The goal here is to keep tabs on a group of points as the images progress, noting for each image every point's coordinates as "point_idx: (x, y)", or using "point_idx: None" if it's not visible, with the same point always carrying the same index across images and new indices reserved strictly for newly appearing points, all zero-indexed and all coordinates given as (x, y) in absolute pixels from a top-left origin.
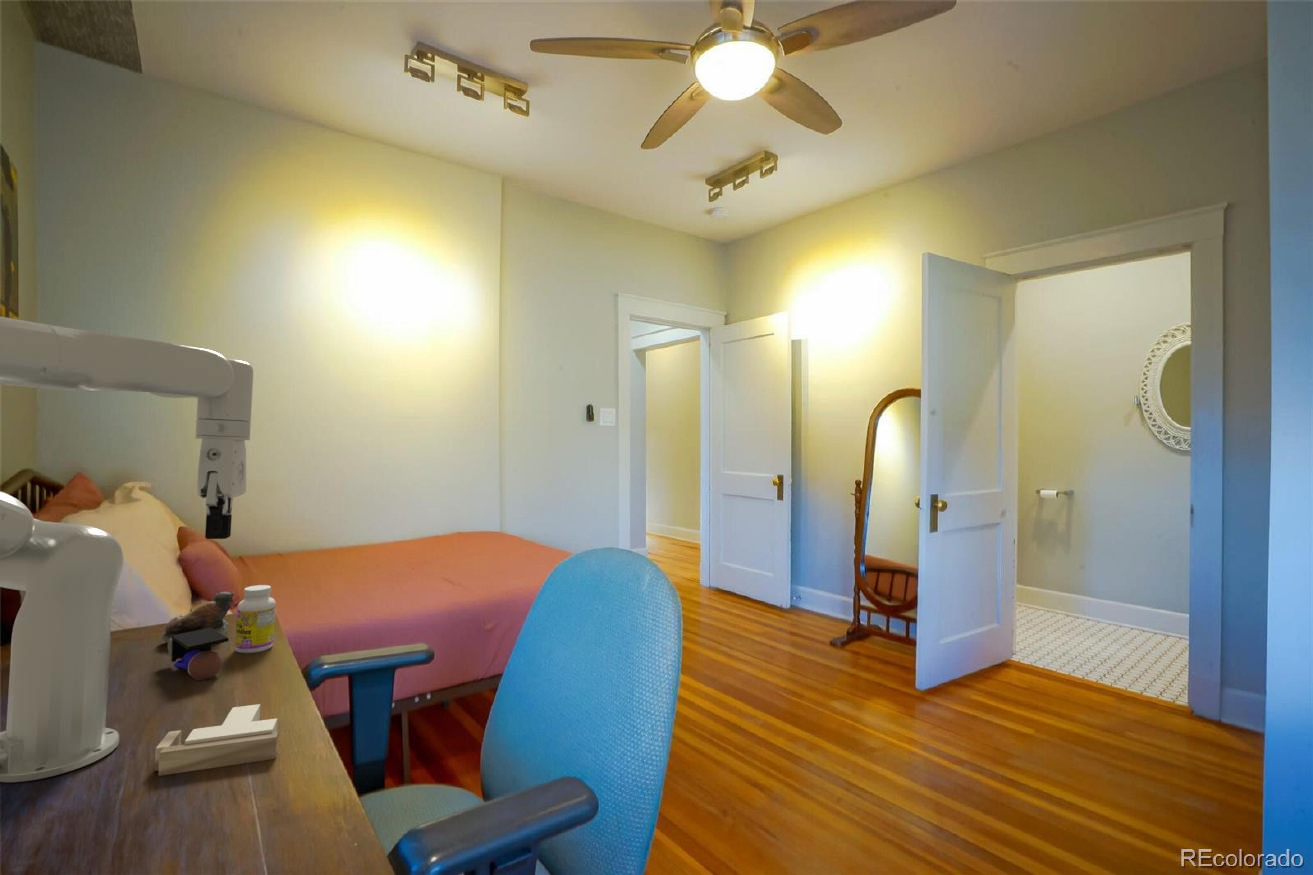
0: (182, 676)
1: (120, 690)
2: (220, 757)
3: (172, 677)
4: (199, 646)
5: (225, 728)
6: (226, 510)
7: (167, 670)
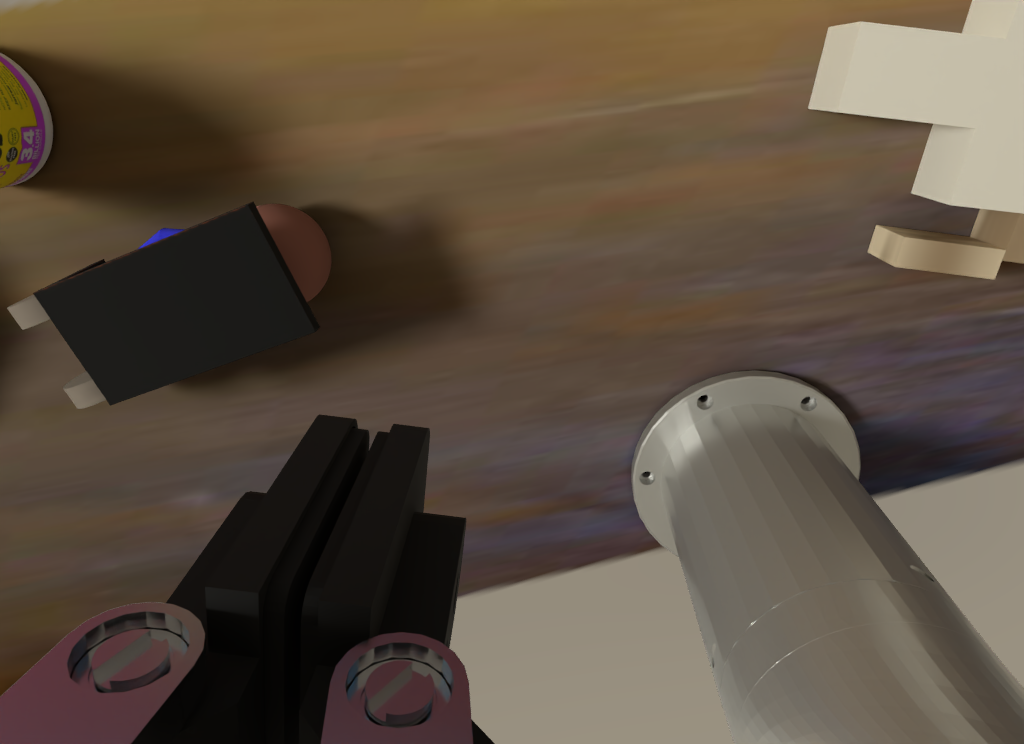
0: None
1: None
2: None
3: None
4: (300, 296)
5: (1009, 114)
6: (407, 713)
7: None
